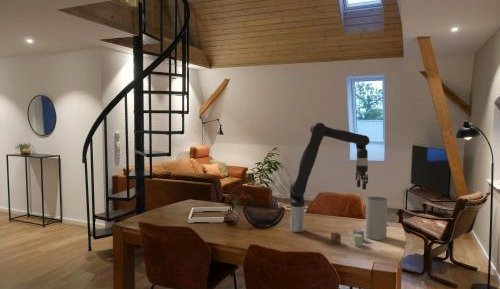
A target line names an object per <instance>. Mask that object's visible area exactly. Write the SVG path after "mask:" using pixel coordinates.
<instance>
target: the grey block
mask: <svg viewBox="0 0 500 289" xmlns="http://www.w3.org/2000/svg"><path fill="white" fill-rule="evenodd" d="M352 231H353V232H352V233H353V234H360V235H362V236H363V242H364V236H365V231H364V230H362V229H361V228H359V229H353V230H352ZM353 234H352V235H353Z"/></svg>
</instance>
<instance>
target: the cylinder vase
mask: <svg viewBox="0 0 500 289" xmlns="http://www.w3.org/2000/svg"><path fill="white" fill-rule="evenodd" d="M365 204H366V205H365V237H366V238H367V239H370V240H373V241H384V240H385V239H387V231H388V230H387V227H388V226H387V225H388V223H387V222H388V220H387V219H388V198H387V197H382V196H367V197H366V199H365Z"/></svg>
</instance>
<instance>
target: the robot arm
mask: <svg viewBox="0 0 500 289" xmlns="http://www.w3.org/2000/svg"><path fill="white" fill-rule="evenodd" d="M309 130H310V133H311V136H310V139H309V142H308V144H307V145H306V146H305V149H304V150H303V153H302V155H301V158H300V161H299V165H298V166H299V167H298V174H297V177H296V179H295V181H293V182H291V184H290V187H289V196H290V197H289V199H290V215H289V230H290V231H291V232H292V233H303V232H305V203H306V202H305V198H304V195H305V193H306V190H307V185H308V181H309V177H310V175H311V173H312V170H313V167H314V165H315V163H316V160H317V157H318V156H317V155H318V152H319V150H320V146H321V142H322V141H323V139H324V137H327V138H331V139H335V140H338V141H342V142H345V143H350V144H355V147H356V161H355V163H356V164H355V171H356V172H355V181H356V187H357V188H361V185H362V188H361V190H367V184H369V174H367V172H368V167H369V165H368V164H369V162H368V161H369V159H368V158H369V156H368V155H369V154H368V152H369V151H368V149H367V146H368V145H369V144H370V138H369V136H367V135H364V134H361V133H360V134H359V133H355V132H352V131H347V130H343V129H338V128H337V129H336V128H333V127H328V126H326V125H325V124H324V123H322V122H314V123H313V124H312V125H311V126H310V129H309ZM361 183H362V184H361Z"/></svg>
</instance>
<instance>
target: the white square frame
mask: <svg viewBox="0 0 500 289" xmlns="http://www.w3.org/2000/svg"><path fill="white" fill-rule="evenodd" d="M230 207H231V206H208V207H204V206H203V207H202V206H201V207H192V208H191V209H190V213H189V215H188V218H187V223H188V224H193V223H194V222H209V223H224V222H223V221H224V217H225V216H219V217H218V216H215V217H214V216H213V217H212V216H211V217H210V216H208V217H193V215H194V213H204V212H203V211H221V212H229V211H228V210H229V209H230ZM192 214H193V215H192ZM191 217H192V218H191ZM194 224H195V223H194Z"/></svg>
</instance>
